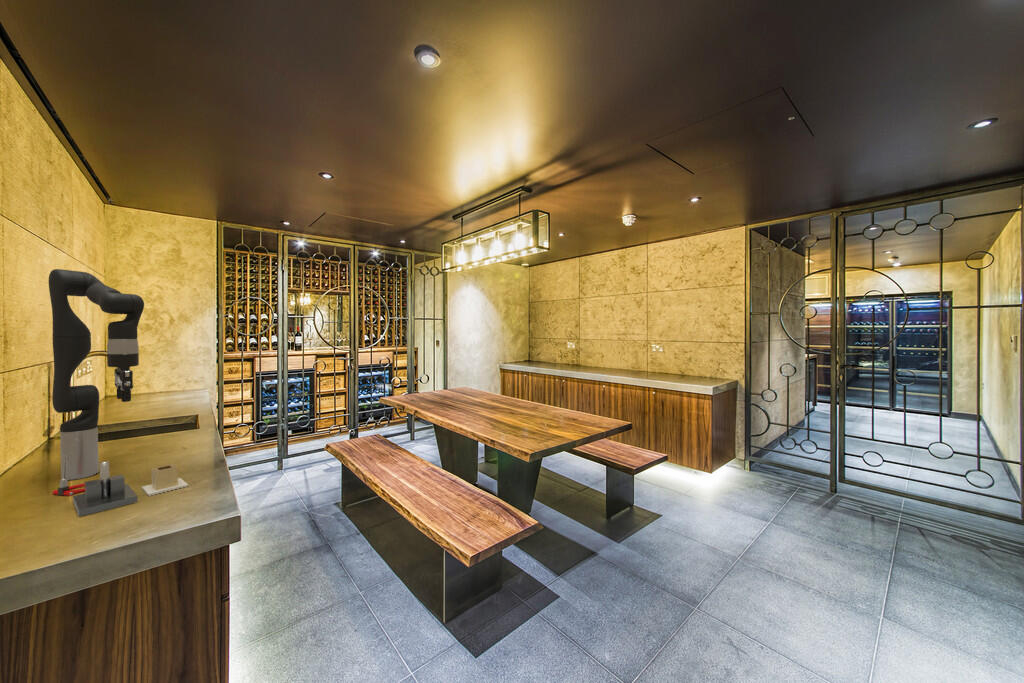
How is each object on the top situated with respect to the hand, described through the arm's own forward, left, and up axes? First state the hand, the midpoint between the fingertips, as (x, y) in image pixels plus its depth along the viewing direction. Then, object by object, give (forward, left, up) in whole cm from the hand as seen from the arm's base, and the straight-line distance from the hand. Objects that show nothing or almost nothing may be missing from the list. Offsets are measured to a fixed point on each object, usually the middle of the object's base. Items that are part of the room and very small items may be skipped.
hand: (123, 400), depth 131 cm
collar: (+12, +8, -29) cm, 32 cm away
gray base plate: (+12, -6, -30) cm, 33 cm away
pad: (+12, +8, -30) cm, 33 cm away
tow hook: (-9, -10, -30) cm, 33 cm away
